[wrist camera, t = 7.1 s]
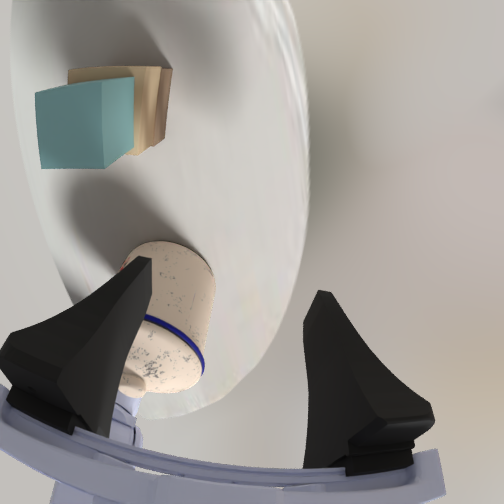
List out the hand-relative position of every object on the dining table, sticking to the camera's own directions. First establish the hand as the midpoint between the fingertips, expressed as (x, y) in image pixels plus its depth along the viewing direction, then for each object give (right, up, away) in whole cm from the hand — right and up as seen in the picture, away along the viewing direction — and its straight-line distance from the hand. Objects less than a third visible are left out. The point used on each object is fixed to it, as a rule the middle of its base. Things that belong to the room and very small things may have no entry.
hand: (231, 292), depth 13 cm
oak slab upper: (-7, +11, +3) cm, 13 cm away
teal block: (-7, +9, +1) cm, 12 cm away
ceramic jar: (-7, -2, +15) cm, 16 cm away
